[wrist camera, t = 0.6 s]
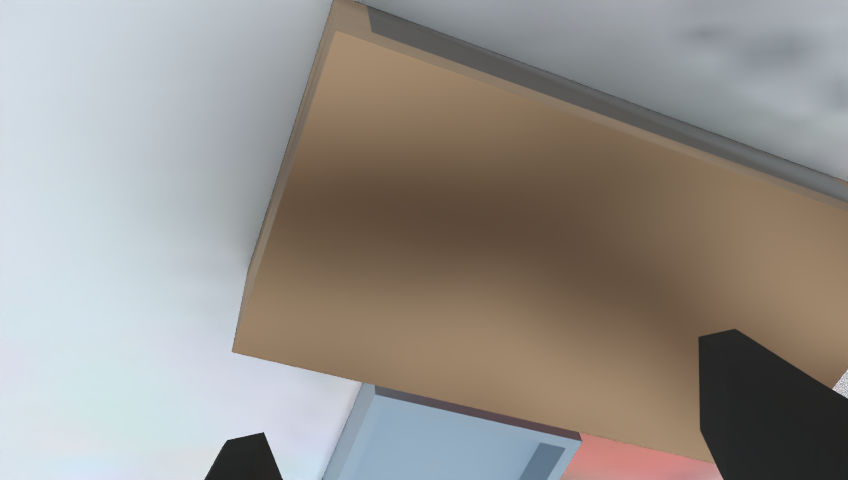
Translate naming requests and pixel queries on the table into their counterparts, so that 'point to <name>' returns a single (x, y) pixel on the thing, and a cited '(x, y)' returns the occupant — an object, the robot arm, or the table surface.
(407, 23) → the low shelf
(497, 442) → the tray
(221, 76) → the table surface
